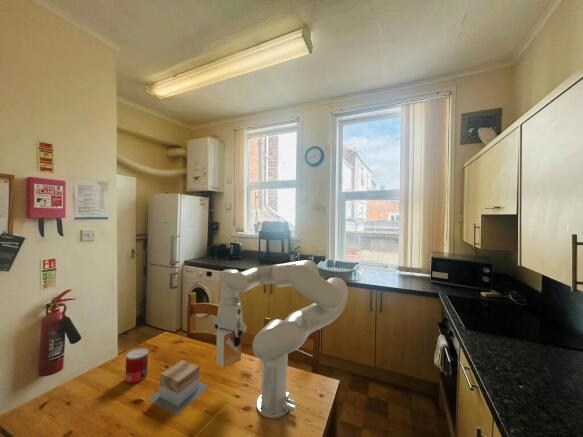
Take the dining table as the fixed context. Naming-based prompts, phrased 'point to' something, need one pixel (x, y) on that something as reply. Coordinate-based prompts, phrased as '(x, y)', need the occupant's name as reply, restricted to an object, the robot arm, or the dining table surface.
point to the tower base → (180, 397)
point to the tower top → (179, 376)
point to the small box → (227, 348)
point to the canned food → (136, 365)
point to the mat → (177, 409)
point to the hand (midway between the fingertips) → (228, 342)
